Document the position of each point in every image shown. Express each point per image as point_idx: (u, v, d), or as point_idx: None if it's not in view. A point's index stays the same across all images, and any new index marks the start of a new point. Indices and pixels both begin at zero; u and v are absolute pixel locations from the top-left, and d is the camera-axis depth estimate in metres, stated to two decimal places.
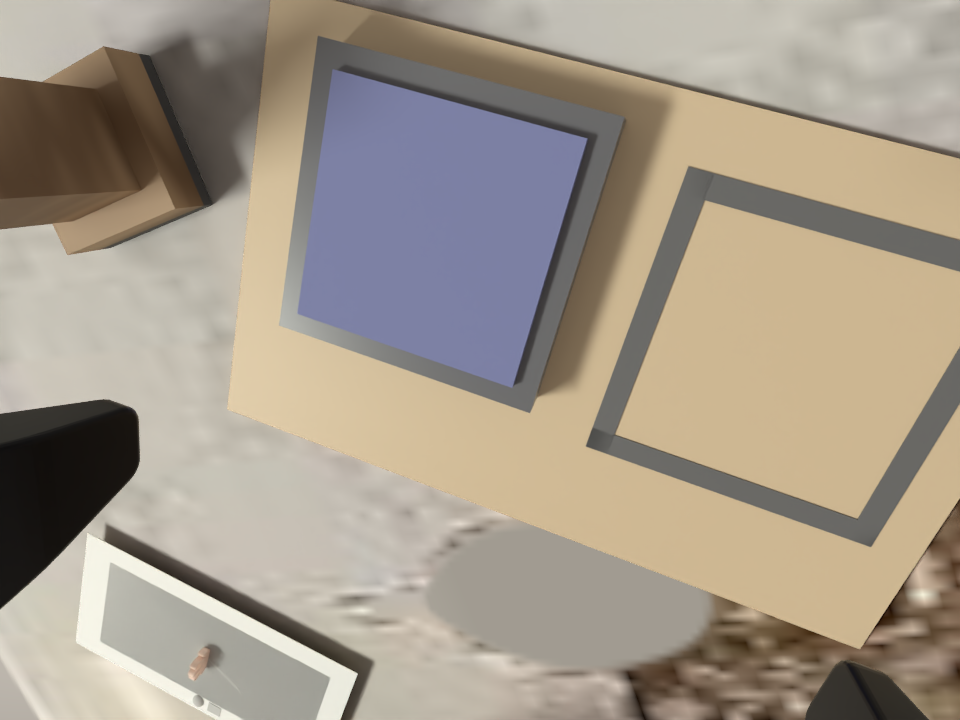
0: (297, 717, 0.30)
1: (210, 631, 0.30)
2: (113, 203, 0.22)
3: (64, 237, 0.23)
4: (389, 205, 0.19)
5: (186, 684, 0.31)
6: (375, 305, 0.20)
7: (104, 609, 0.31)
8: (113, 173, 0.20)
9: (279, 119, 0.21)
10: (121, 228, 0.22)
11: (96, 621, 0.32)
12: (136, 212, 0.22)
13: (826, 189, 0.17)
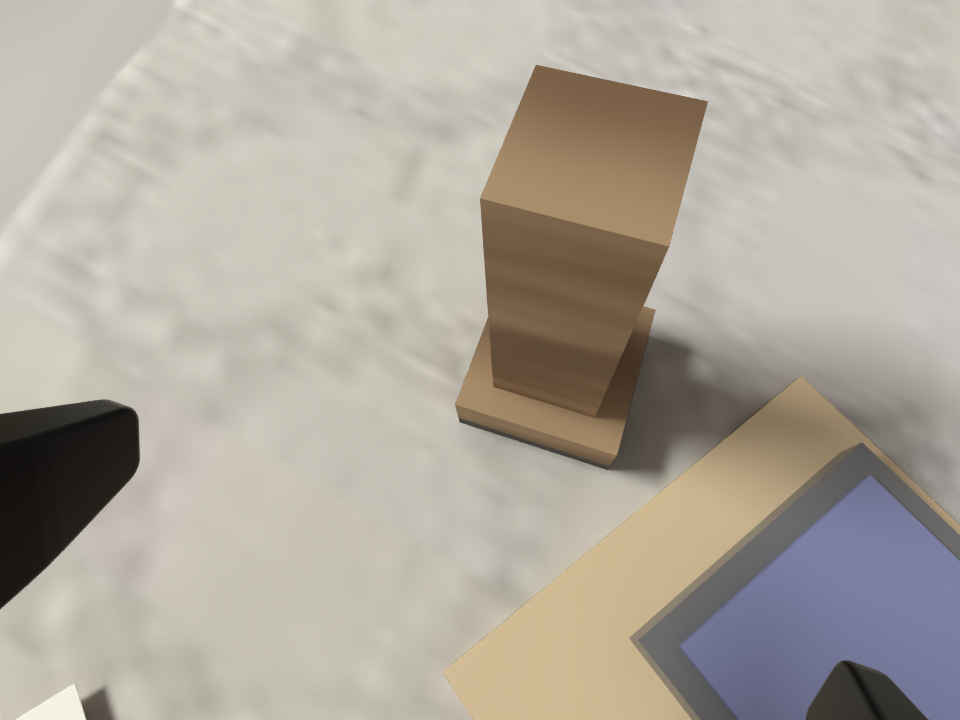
0: None
1: None
2: (552, 405, 0.20)
3: (468, 390, 0.20)
4: (865, 620, 0.17)
5: None
6: (786, 708, 0.16)
7: None
8: None
9: (739, 460, 0.21)
10: (540, 428, 0.20)
11: None
12: (570, 428, 0.20)
13: None
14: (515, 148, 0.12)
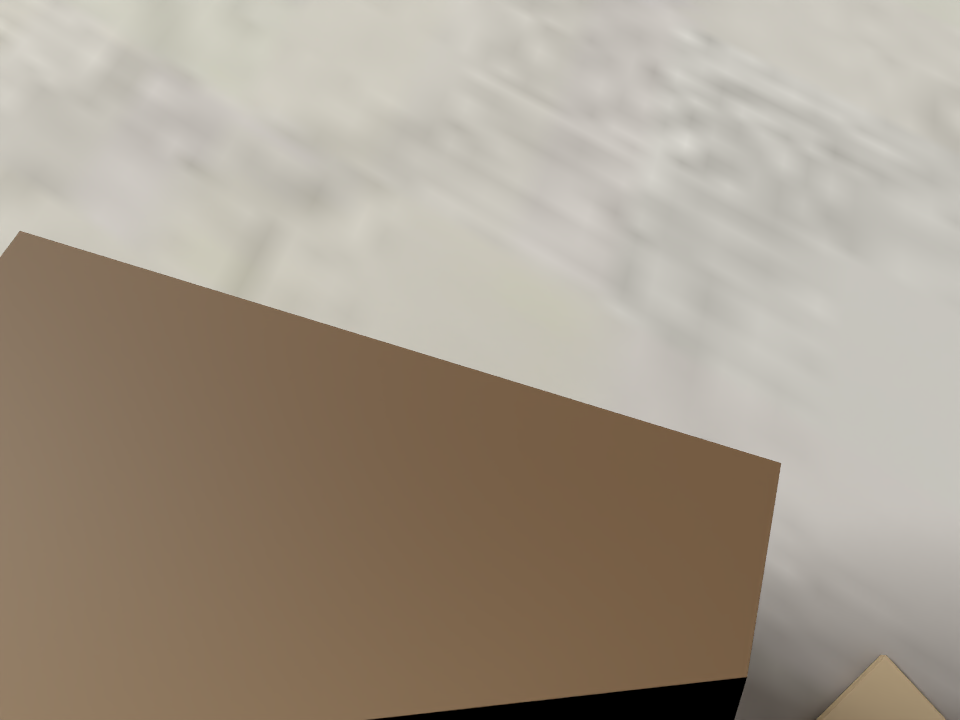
0: None
1: None
2: None
3: None
4: None
5: None
6: None
7: None
8: None
9: None
10: None
11: None
12: None
13: None
14: None
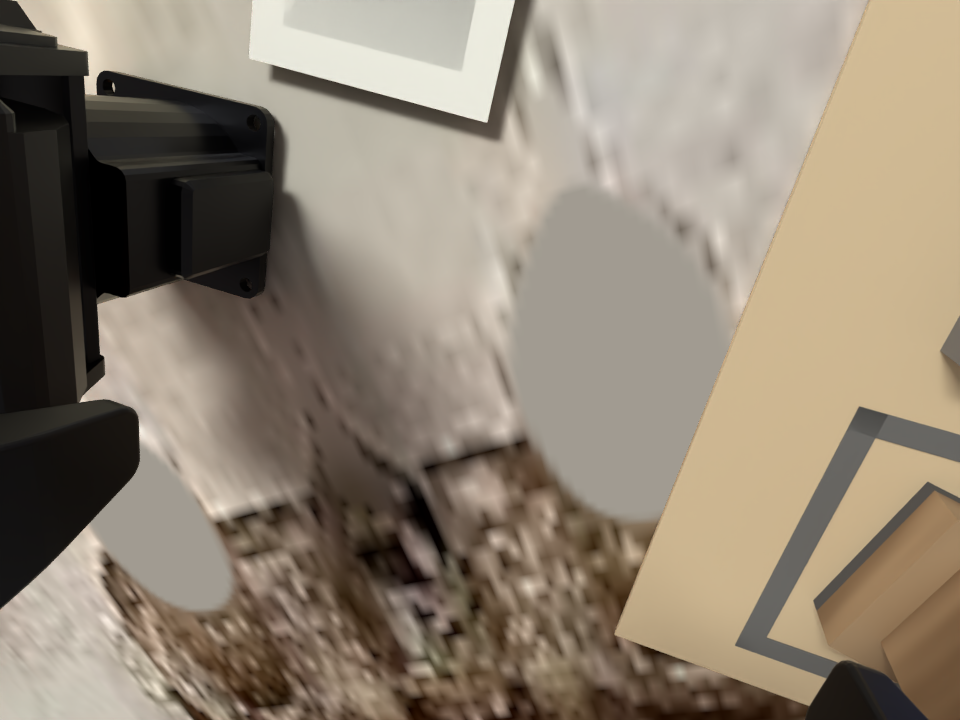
0: (351, 7, 0.17)
1: None
2: (912, 612, 0.18)
3: None
4: None
5: None
6: None
7: None
8: None
9: None
10: (886, 593, 0.18)
11: None
12: (875, 618, 0.18)
13: None
14: None
